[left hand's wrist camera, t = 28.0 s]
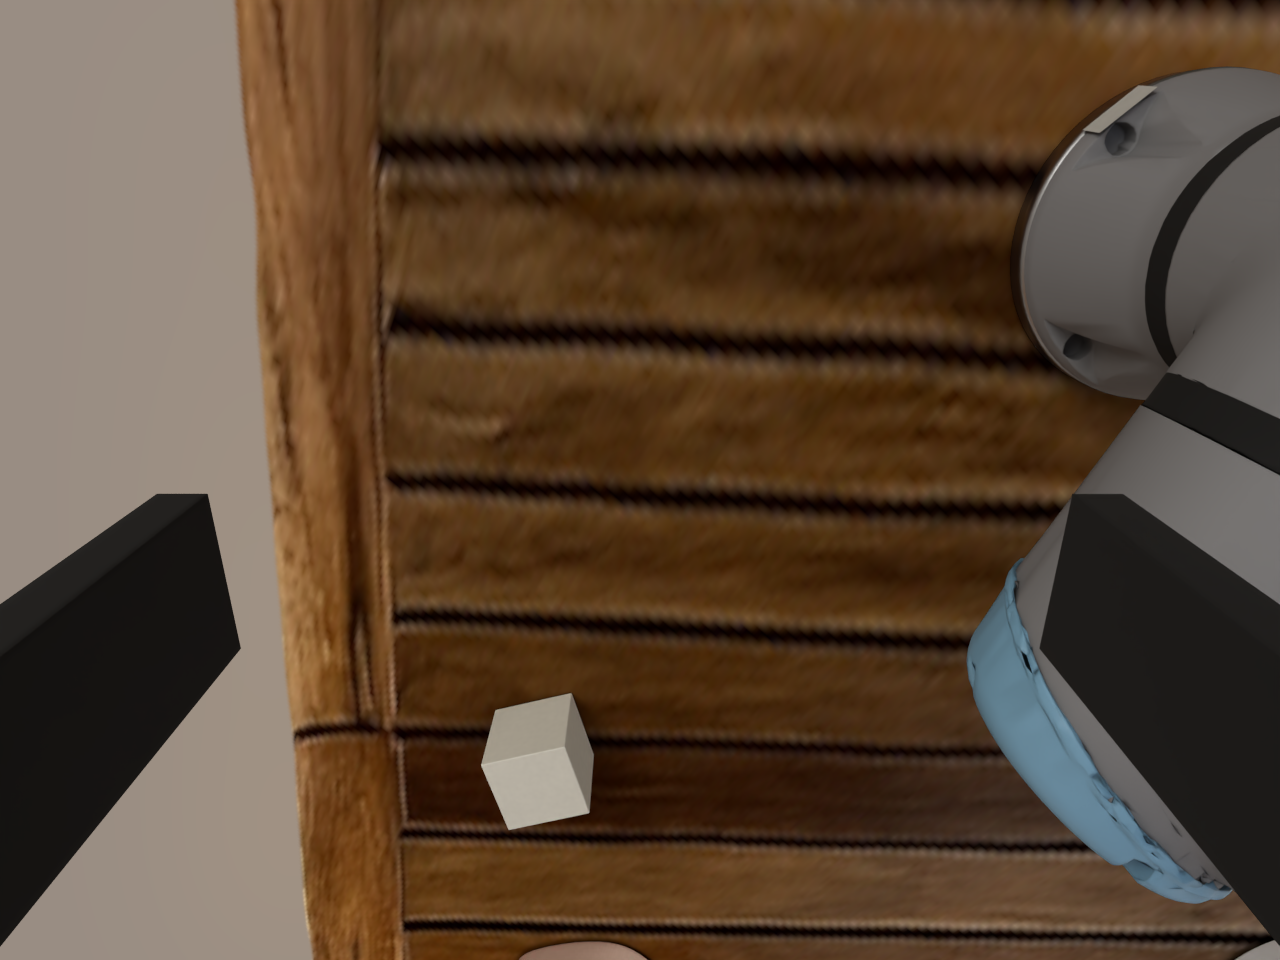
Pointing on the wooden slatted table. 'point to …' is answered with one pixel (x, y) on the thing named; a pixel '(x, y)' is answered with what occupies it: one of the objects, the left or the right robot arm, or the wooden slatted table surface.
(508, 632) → the wooden slatted table surface
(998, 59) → the wooden slatted table surface
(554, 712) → the plastic block
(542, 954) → the anatomical model
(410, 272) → the wooden slatted table surface
